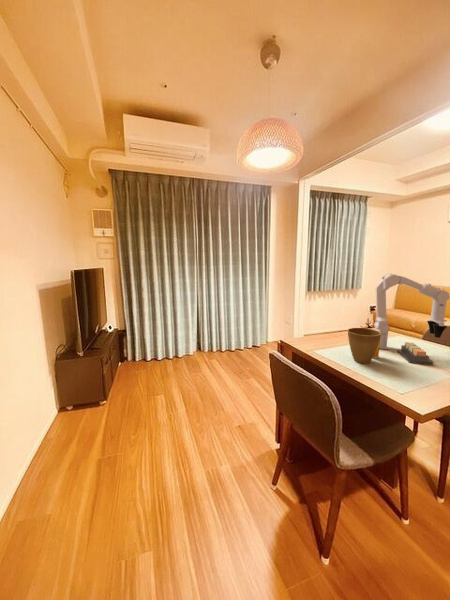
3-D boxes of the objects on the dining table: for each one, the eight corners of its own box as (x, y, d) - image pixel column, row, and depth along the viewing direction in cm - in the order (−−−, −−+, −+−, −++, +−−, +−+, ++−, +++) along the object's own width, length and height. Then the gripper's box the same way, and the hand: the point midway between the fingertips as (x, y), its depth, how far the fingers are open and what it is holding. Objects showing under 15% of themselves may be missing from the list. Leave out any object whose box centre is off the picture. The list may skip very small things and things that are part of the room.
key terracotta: (416, 356, 124) (417, 351, 124) (412, 354, 128) (413, 348, 127) (425, 357, 123) (426, 352, 123) (421, 354, 127) (422, 349, 126)
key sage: (411, 353, 129) (412, 347, 129) (408, 350, 133) (409, 345, 132) (420, 354, 128) (421, 348, 128) (416, 351, 132) (417, 345, 131)
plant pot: (372, 356, 133) (375, 328, 130) (382, 368, 119) (385, 336, 116) (342, 354, 137) (345, 326, 134) (348, 365, 123) (351, 334, 120)
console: (409, 362, 125) (410, 355, 124) (396, 351, 140) (397, 345, 139) (432, 365, 122) (433, 357, 121) (417, 353, 137) (418, 346, 137)
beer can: (380, 358, 130) (382, 331, 127) (367, 358, 131) (370, 331, 129) (375, 354, 136) (378, 328, 133) (363, 353, 137) (366, 328, 134)
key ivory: (407, 349, 134) (408, 344, 134) (404, 347, 138) (404, 342, 137) (415, 350, 133) (416, 345, 132) (412, 347, 137) (413, 342, 136)
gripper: (453, 315, 127) (449, 340, 129) (442, 309, 140) (438, 332, 142) (436, 313, 129) (432, 338, 132) (427, 308, 143) (423, 331, 145)
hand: (434, 335), depth 137 cm, fingers open, 7 cm apart
